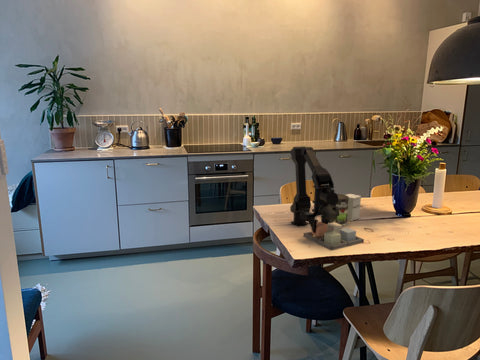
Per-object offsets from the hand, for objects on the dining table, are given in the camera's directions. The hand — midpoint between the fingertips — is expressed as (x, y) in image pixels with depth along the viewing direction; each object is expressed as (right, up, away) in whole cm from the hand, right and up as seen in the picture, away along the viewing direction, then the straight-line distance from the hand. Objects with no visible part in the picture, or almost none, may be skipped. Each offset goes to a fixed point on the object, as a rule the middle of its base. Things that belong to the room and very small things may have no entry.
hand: (319, 231), depth 178 cm
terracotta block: (0, -1, 0) cm, 1 cm away
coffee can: (+14, +2, +22) cm, 26 cm away
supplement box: (+22, +3, +29) cm, 37 cm away
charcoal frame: (+6, -3, -1) cm, 7 cm away
